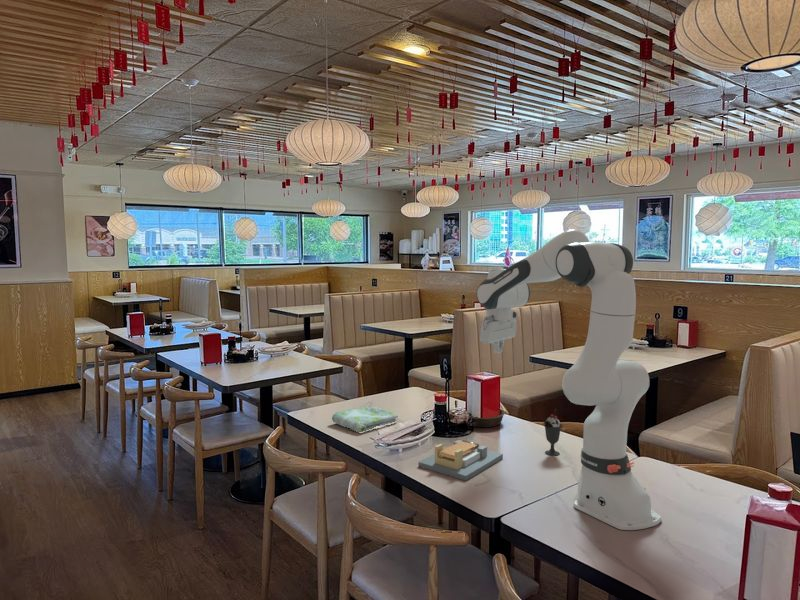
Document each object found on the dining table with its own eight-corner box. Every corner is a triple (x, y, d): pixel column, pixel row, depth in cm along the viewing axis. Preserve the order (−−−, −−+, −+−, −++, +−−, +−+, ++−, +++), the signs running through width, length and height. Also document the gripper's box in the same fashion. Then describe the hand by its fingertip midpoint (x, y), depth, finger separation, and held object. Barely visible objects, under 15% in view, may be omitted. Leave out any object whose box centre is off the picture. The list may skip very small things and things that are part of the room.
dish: (449, 424, 218) (449, 412, 218) (480, 413, 234) (480, 401, 234) (485, 434, 206) (485, 421, 206) (515, 421, 222) (516, 409, 222)
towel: (399, 423, 221) (399, 411, 220) (359, 435, 206) (359, 422, 206) (370, 414, 234) (370, 402, 233) (330, 425, 219) (330, 413, 219)
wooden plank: (464, 439, 184) (439, 450, 173) (479, 443, 180) (454, 455, 169) (463, 444, 184) (439, 455, 173) (479, 448, 181) (454, 460, 169)
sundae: (560, 450, 189) (560, 408, 187) (564, 457, 182) (564, 413, 181) (540, 449, 189) (541, 407, 188) (544, 456, 182) (544, 413, 181)
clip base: (457, 446, 192) (457, 427, 192) (502, 458, 181) (502, 438, 180) (418, 466, 175) (418, 445, 174) (465, 480, 163) (465, 458, 163)
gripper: (491, 317, 182) (491, 358, 183) (519, 312, 198) (519, 349, 199) (475, 316, 186) (475, 356, 187) (504, 311, 202) (503, 348, 203)
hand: (498, 352), depth 193 cm, fingers closed
